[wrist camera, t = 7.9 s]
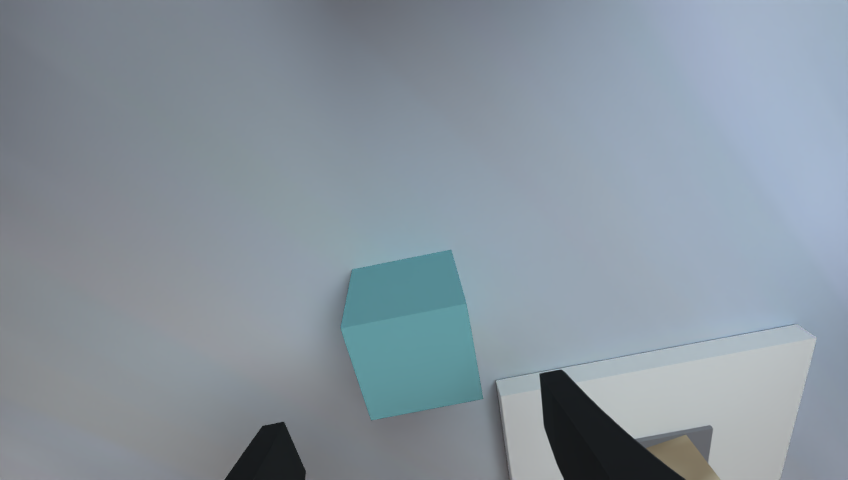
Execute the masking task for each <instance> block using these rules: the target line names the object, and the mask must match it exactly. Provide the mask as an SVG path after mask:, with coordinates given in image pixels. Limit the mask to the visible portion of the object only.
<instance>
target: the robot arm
mask: <svg viewBox="0 0 848 480" xmlns="http://www.w3.org/2000/svg"><path fill="white" fill-rule="evenodd" d="M539 376H540V387H541V399H542V411H543V423H544V429H545V432H546V435H547V438H548V440H549V443H550V446H551V449H552V452H553V455H554V458H555V461H556V463H557V466H558V468H559V470H560V472H561V475H562V477H563V479H564V480H686V479H685V478H683V477H682V476H680V475H679V474H678V473H676V472H675V471H674V470H672V469H671V468H670V467H668V466H667V465H666V464H665V463H663V462H662V461H661V460H660V459H658V458H657V457H656V456H655V455H653V454H652V453H651V452H650V451H648V450H647V449H646V448H645V447H644V446H642V445H641V444H640V443H639V442H638V441H636V440H635V439H634V438H633V437H632V436H631V435H629V434H628V433H627V432H626V431H625V430H624V429H623V428H622V427H620V426H619V425H618V424H617V423H616V422H615V421H614V420H613V419H612V418H611V417H609V416H608V415H607V414H606V413H605V412H604V411H603V410H602V409H601V408H600V407H599V406H598V405H597V404H596V403H595V402H594V401H593V400H592V399H591V398H590V397H589V396H588V395H587V394H586V393H585V392H584V391H583V390H582V389H581V388H580V387H579V386H578V385H577V384H576V383H575V382H574V381H573V380H572V379H571V378H570V377H569V376H568V375H567V373H566V372H564V371H563V370H561V369H560V370H555V371H550V372H544V373H539ZM305 474H306V471H305V469H304V466H303V464H302V462H301V459H300V457H299V455H298V453H297V450H296V448H295V446H294V443H293V441H292V439H291V437H290V434H289V432H288V430H287V427H286V425H285V423H284V422H281V423H276V424H270V425H265V426H262V428H261V429H260V430H259V432H258V433H257V435H256V436H255V437H254V439H253V440H252V441H251V443H250V444H249V446H248V447H247V449H246V450H245V451H244V453H243V454H242V456H241V457H240V459H239V460H238V461H237V463H236V464H235V466H234V467H233V468H232V470H231V471H230V473H229V474H228V475H227V477H226V478H225V480H305Z"/></svg>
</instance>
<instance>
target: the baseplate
mask: <svg viewBox="0 0 848 480" xmlns="http://www.w3.org/2000/svg"><path fill="white" fill-rule="evenodd" d="M816 340H817V337H815V336H814V335H812V334H811V333H809V332H808V331H806V330H805V329H803V328H802V327H800V326H799V325H797V324H796V325H790V326H785V327H780V328H774V329H769V330H764V331H758V332H753V333H747V334H742V335H737V336H731V337H726V338H721V339H715V340H710V341H705V342H699V343H694V344H688V345H683V346H678V347H672V348H667V349H662V350H656V351H651V352H646V353H640V354H635V355H629V356H624V357H619V358H613V359H608V360H603V361H597V362H592V363H587V364H581V365H576V366H570V367H565V368H560V369H561V370H563V371H564V372H566V373H567V375H568V376H569V377H570V378H571V379H572V380H573V381H574V382H575V383H576V384H577V385H578V386H579V387H580V388H581V389H582V390H583V391H584V392H585V393H586V394H587V395H588V396H589V397H590V398H591V399H592V400H593V401H594V402H595V403H596V404H597V405H598V406H599V407H600V408H601V409H602V410H603V411H604V412H605V413H606V414H607V415H608V416H609V417H611V418H612V419H613V420H614V421H615V422H616V423H617V424H618V425H619V426H620V427H622V428H623V429H624V430H625V431H626V432H627V433H628V434H629V435H631V436H632V437H633V438H634V439H635V440H636V441H638V442H639V443H640V444H641V445H642V446H644V447H645V448H648V447H651V446H654V445H657V444H660V443H663V442H666V441H668V440H671V439H674V438H677V437H680V436H683V435H687V436H688V438H689V439H690V440H691V442H692V443H693V444H694V446H695V447H696V448H697V449H698V451H699V452H700V453H701V455H702V456H703V457H704V459H705V460H706V461H707V463H708V464H709V465H710V466H711V468H712V469H713V470H714V472H715V473H716V474H717V476H718V477H719V478H720V480H780V478H781V474H782V471H783V467H784V463H785V459H786V455H787V451H788V447H789V444H790V440H791V436H792V432H793V428H794V424H795V420H796V417H797V413H798V409H799V405H800V401H801V397H802V394H803V390H804V386H805V382H806V378H807V374H808V370H809V367H810V363H811V359H812V355H813V351H814V347H815V343H816ZM560 369H554V370H549V371H544V372H550V371H555V370H560ZM544 372H538V373H533V374H528V375H522V376H517V377H511V378H506V379H501V380H496V385H497V392H498V399H499V406H500V413H501V421H502V428H503V435H504V442H505V449H506V456H507V463H508V470H509V477H510V480H564V479H563V477H562V475H561V472H560V470H559V468H558V466H557V463H556V461H555V458H554V455H553V452H552V449H551V446H550V443H549V440H548V438H547V435H546V432H545V429H544V423H543V411H542V399H541V387H540V376H539V373H544Z"/></svg>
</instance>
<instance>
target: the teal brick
mask: <svg viewBox="0 0 848 480" xmlns="http://www.w3.org/2000/svg"><path fill="white" fill-rule="evenodd" d="M341 331H342V335H343V338H344V341H345V344H346V347H347V350H348V353H349V356H350V359H351V362H352V365H353V368H354V371H355V374H356V377H357V380H358V383H359V386H360V389H361V392H362V395H363V398H364V401H365V404H366V407H367V410H368V413H369V416H370V419H371V420H376V419H381V418H387V417H392V416H397V415H402V414H407V413H413V412H418V411H423V410H428V409H434V408H439V407H444V406H449V405H454V404H460V403H465V402H470V401H475V400H480V399H483V395H482V389H481V383H480V377H479V372H478V366H477V360H476V355H475V349H474V343H473V338H472V332H471V326H470V321H469V315H468V309H467V304H466V300H465V297H464V293H463V290H462V286H461V282H460V279H459V275H458V272H457V268H456V265H455V261H454V258H453V254H452V251H451V250H447V251H442V252H437V253H432V254H427V255H422V256H417V257H412V258H407V259H402V260H397V261H392V262H387V263H382V264H377V265H372V266H367V267H363V268H358V269H353V270H352V273H351V278H350V283H349V288H348V293H347V298H346V303H345V308H344V313H343V318H342V323H341Z"/></svg>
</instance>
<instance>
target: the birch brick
mask: <svg viewBox="0 0 848 480" xmlns="http://www.w3.org/2000/svg"><path fill="white" fill-rule="evenodd" d="M646 449H647V450H648V451H650V452H651V453H652V454H653V455H655V456H656V457H657V458H658V459H660V460H661V461H662V462H663V463H665V464H666V465H667V466H668V467H670V468H671V469H672V470H674V471H675V472H676V473H678V474H679V475H680V476H682V477H683V478H685V479H686V480H720V478H719V477H718V476H717V474H716V473H715V472H714V470H713V469H712V468H711V466H710V465H709V464H708V463H707V461H706V460H705V459H704V457H703V456H702V455H701V453H700V452H699V451H698V449H697V448H696V447H695V446H694V444H693V443H692V442H691V440H690V439H689V438H688V436H687V435H683V436H680V437H677V438H674V439H671V440H668V441H666V442H663V443H660V444H657V445H654V446H651V447H648V448H646Z"/></svg>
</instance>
